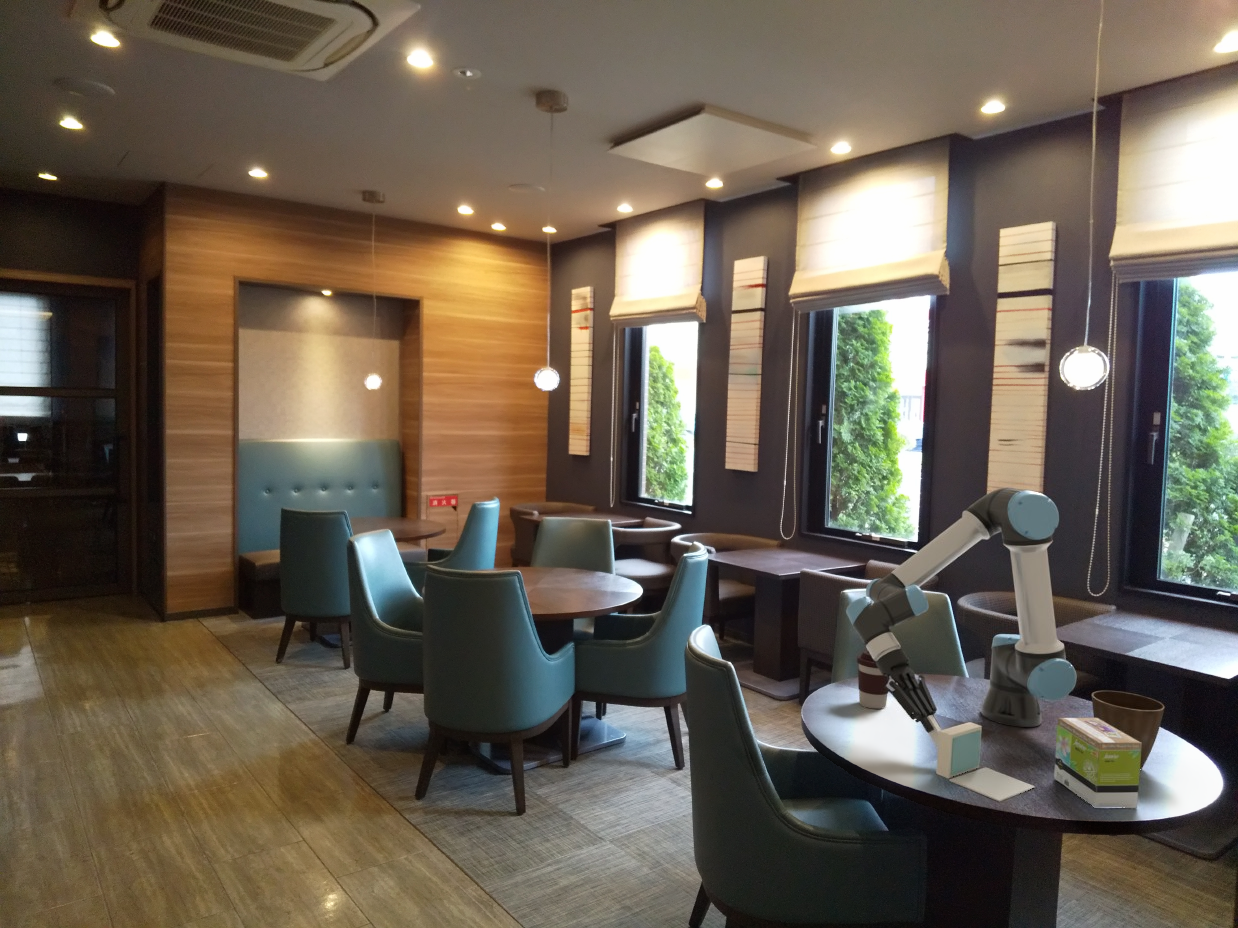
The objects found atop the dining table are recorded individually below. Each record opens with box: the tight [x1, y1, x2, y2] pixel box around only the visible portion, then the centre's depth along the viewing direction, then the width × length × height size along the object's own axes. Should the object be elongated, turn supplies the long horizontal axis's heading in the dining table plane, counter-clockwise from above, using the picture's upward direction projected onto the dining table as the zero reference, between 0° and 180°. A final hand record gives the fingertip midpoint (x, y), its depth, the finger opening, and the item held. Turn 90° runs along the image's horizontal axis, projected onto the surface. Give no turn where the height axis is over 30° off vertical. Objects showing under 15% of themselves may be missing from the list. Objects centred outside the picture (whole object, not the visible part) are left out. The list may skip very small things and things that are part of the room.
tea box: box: [1053, 717, 1142, 809], centre depth 185 cm, size 15×10×15 cm
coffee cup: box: [856, 649, 890, 710], centre depth 240 cm, size 10×10×15 cm
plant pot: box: [1091, 690, 1165, 770], centre depth 202 cm, size 15×15×16 cm
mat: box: [948, 766, 1036, 803], centre depth 189 cm, size 14×12×1 cm
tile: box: [936, 721, 983, 779], centre depth 195 cm, size 12×3×10 cm, turn 124°
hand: (942, 743), depth 198 cm, fingers closed
